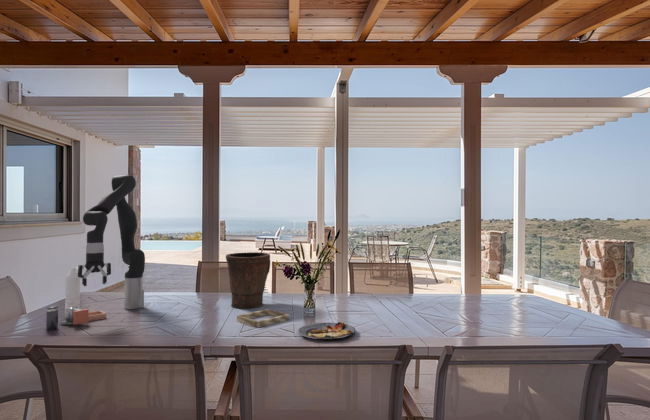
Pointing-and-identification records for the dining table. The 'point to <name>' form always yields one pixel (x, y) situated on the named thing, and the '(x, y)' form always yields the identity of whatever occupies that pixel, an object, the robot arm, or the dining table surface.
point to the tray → (96, 315)
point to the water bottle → (72, 289)
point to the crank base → (66, 323)
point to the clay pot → (247, 278)
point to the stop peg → (52, 318)
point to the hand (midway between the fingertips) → (94, 284)
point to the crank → (77, 315)
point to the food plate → (327, 330)
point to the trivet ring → (247, 320)
